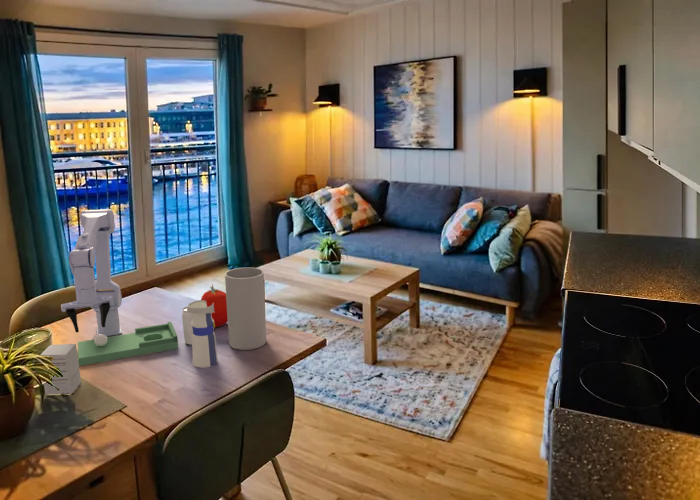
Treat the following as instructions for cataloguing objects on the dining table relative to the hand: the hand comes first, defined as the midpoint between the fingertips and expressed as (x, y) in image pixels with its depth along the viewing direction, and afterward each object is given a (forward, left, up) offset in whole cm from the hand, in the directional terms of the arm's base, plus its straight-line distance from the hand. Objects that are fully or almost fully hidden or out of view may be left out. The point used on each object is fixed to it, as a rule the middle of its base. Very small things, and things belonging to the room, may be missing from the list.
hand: (90, 328), depth 177 cm
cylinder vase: (+9, +48, -11) cm, 50 cm away
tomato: (-11, +42, -11) cm, 44 cm away
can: (0, +32, -11) cm, 33 cm away
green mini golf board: (-4, +11, -11) cm, 16 cm away
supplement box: (+18, -8, -11) cm, 22 cm away
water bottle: (+17, +32, -11) cm, 37 cm away
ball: (-4, +3, -6) cm, 8 cm away
